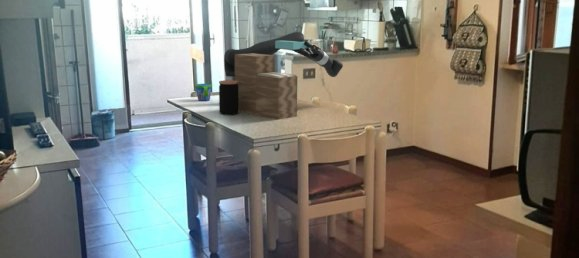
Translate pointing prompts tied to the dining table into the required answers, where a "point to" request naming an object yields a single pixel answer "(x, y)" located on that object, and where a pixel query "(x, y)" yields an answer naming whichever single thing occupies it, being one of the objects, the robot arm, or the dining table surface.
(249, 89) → the step shelf
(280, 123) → the dining table surface
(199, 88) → the snack cup
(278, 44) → the t bar
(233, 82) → the coffee jar
